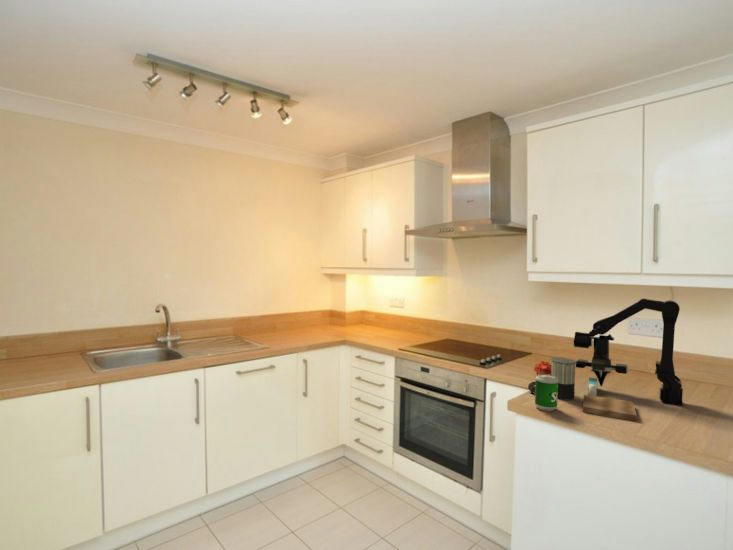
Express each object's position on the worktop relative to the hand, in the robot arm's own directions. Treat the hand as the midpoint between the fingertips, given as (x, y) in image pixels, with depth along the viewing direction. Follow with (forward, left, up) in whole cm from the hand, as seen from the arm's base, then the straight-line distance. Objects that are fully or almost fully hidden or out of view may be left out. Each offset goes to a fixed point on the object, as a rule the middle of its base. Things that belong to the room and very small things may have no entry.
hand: (601, 386), depth 170 cm
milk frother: (+18, +19, -2) cm, 26 cm away
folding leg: (+3, +7, -1) cm, 8 cm away
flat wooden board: (-2, +26, -2) cm, 26 cm away
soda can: (+18, +37, -2) cm, 41 cm away
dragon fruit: (+22, -7, -2) cm, 24 cm away
